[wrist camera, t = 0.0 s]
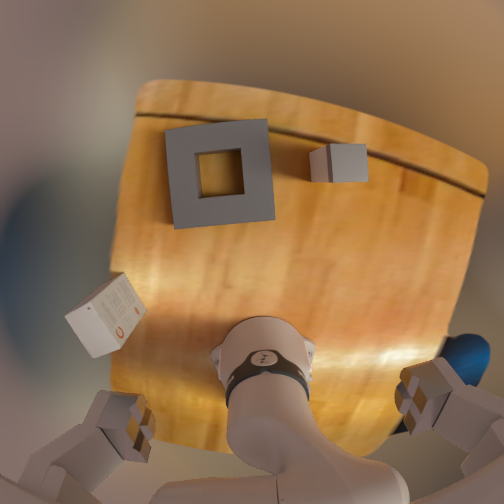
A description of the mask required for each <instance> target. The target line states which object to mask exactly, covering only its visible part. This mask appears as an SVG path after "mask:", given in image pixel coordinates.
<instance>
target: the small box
mask: <svg viewBox="0 0 504 504" xmlns="http://www.w3.org/2000/svg"><path fill="white" fill-rule="evenodd" d="M146 311H147V310H146V308H145V307H144V305H143V303H142V302H141V300H140V299H139V297H138V295H137V294H136V292H135V290H134V289H133V287H132V285H131V284H130V282H129V280H128V278H127V277H126V275H125V273H122V274H120V275H118V276H117V277H115V278H113V279H111V280H109V281H108V282H106V283H104V284H102V285H100V286H99V287H98V288H96V289H95V290H94V291H93V292H92V293H90V294H89V295H88V296H87V297H86V298H84V299H83V300H82V301H81V302H79V303H78V304H77V305H76V306H75V307H74V308H72V309H71V310H70V311H69V312H68V313H67V314H66V315H65V316H64V317H65V318H66V320H67V322H68V323H69V325H70V326H71V328H72V329H73V331H74V332H75V334H76V335H77V337H78V338H79V340H80V341H81V343H82V344H83V346H84V347H85V349H86V350H87V351H88V353H89V354H90V356H91V357H92V358H93V359H95V358H97V357H100V356H103V355H106V354H108V353H111V352H114V351H116V350H119V349H121V347H122V346H123V344H124V343H125V341H126V340H127V338H128V337H129V336H130V334H131V333H132V331H133V330H134V328H135V327H136V326H137V324H138V323H139V321H140V320H141V318H142V317H143V316H144V314H145V313H146Z"/></svg>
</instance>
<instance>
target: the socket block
mask: <svg viewBox="0 0 504 504" xmlns="http://www.w3.org/2000/svg"><path fill="white" fill-rule="evenodd" d="M165 141H166V154H167V166H168V177H169V187H170V197H171V206H172V214H173V222H174V229H184V228H194V227H204V226H214V225H224V224H235V223H246V222H258V221H270V220H275V206H274V193H273V181H272V169H271V157H270V146H269V135H268V124H267V119H253V120H240V121H230V122H220V123H212V124H204V125H196V126H189V127H182V128H176V129H170V130H165ZM233 151H241V156H242V168H243V179H244V190H245V193H241V194H230V195H220V196H210V197H202V189H201V179H200V168H199V156H198V155H206V154H214V153H223V152H233Z"/></svg>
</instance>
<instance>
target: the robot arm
mask: <svg viewBox="0 0 504 504" xmlns="http://www.w3.org/2000/svg"><path fill="white" fill-rule="evenodd" d="M308 352H309V353H308ZM314 352H315V344H314V342H313V341H311V340H309V339H307V338H305V337H303V336H301V335H300V334H299V333H298V331H297V330H296V329H295V328H294V327H293V326H292V325H290V324H289V323H287V322H285V321H283V320H281V319H278V318H274V317H255V318H251V319H248V320H245V321H243V322H241V323H239V324H238V325H236V326H235V327H234V328H233V329H232V330H231V331H230V332H229V333H228V335H227V337H226V338H225V340H224V341H223V343H222V344H220V345H219V346H217V347H216V348H214V349H213V350H212V352H211V359H212V361H213V363H214V366H215V368H216V370H217V373H218V378H219V380H221V382H222V384H223V386H224V388H225V398H226V405H227V408H228V418H227V433H226V437H227V442H228V444H229V447H230V448H231V450H232V451H233V452H234V454H235V455H237V456H238V457H239V458H240V459H241V460H242V461H243V462H245V463H247V464H248V465H250V466H252V467H255V468H258V469H261V470H264V471H267V472H269V473H271V474H273V475H269V476H254V477H220V478H219V477H209V478H201V479H192V480H184V481H176V482H168V483H166V484H164V485H163V486H162V487H161V488H160V489H158V490H157V492H156V493H155V494H154V495H153V497H152V499H151V500H150V503H149V504H277V500H278V504H504V399H503V398H500V397H498V396H495V395H493V394H490V393H488V392H486V391H483V390H481V389H478V388H476V387H474V386H471V385H467V386H466V385H465V384H464V383H463V381H462V380H461V379H460V377H459V376H458V375H457V374H456V372H455V371H454V370H453V369H452V367H451V366H450V365H449V364H448V362H447V361H446V360H445V359H444V358H442V357H439V358H436V359H433V360H430V361H426V362H423V363H420V364H416V365H413V366H409V367H406V368H403V370H402V371H401V373H400V379H401V382H400V383H399V384H398V385H397V386H396V390H395V404H396V407H397V409H398V411H399V412H400V413H402V414H404V415H405V419H404V423H405V425H406V427H407V429H408V431H409V433H410V435H414V434H417V433H420V432H423V431H426V430H429V429H432V430H433V431H435V432H436V433H438V434H439V435H441V436H442V437H444V438H445V439H447V440H448V441H450V442H452V443H453V444H455V445H456V446H457V447H459V448H461V449H462V450H464V451H465V452H467V453H468V454H469V455H468V457H467V458H466V459H465V460H464V461H463V463H462V465H461V467H460V468H461V470H462V472H463V474H464V475H465V478H463V479H462V480H460V481H458V482H456V483H454V484H452V485H450V486H448V487H446V488H444V489H442V490H440V491H438V492H435V493H433V494H431V495H429V496H426V497H424V498H422V499H419V500H417V501H414V502H412V503H409V491H408V488H407V485H406V483H405V481H404V479H403V478H402V476H401V475H400V474H399V473H398V472H397V471H396V470H395V469H394V468H392V467H391V466H389V465H387V464H386V463H383V462H378V461H372V460H368V459H364V458H361V457H358V456H356V455H353V454H351V453H349V452H347V451H345V450H344V449H342V448H340V447H339V446H337V445H336V444H334V443H333V442H332V441H331V440H329V439H328V438H327V437H326V436H325V435H324V434H323V433H322V432H321V430H320V429H319V427H318V426H317V424H316V421H315V419H314V416H313V414H312V411H311V408H310V405H309V395H310V385H308V383H307V382H311V381H312V375H311V374H310V372H312V366H311V364H312V360H313V356H314ZM218 360H219V361H218ZM146 405H147V400H146V398H145V396H144V395H142V394H134V393H124V392H115V391H106V390H101V391H99V392H98V393H97V395H96V397H95V399H94V401H93V403H92V405H91V407H90V409H89V411H88V413H87V416H86V418H85V420H84V422H83V424H78V425H77V426H75V427H73V428H72V429H70V430H69V431H67V432H66V433H64V434H63V435H61V436H60V437H58V438H57V439H55V440H54V441H52V442H51V443H49V444H47V445H46V446H44V447H43V448H41V449H40V450H38V451H36V452H35V453H34V454H32V455H31V456H30V458H29V460H28V462H27V464H26V466H25V468H24V470H23V472H22V474H21V476H20V479H19V481H18V483H16V482H14V481H12V480H10V479H8V478H6V477H5V476H3V475H1V474H0V504H102V503H101V502H100V501H99V500H98V499H97V498H96V497H94V496H93V495H92V494H91V493H92V492H93V491H94V490H95V489H96V488H97V487H98V486H99V485H100V484H101V483H102V482H103V481H104V480H105V479H106V478H108V477H109V475H110V474H112V473H113V472H114V471H115V470H116V469H117V468H118V467H119V466H120V465H121V464H122V463H123V460H128V461H135V462H144V463H147V462H148V457H149V453H150V450H151V446H150V445H149V443H148V441H149V440H150V439H152V438H153V437H154V433H155V418H154V415H153V413H152V411H151V410H150V409H149V408H147V407H146ZM275 476H276V483H275ZM276 487H277V493H276Z"/></svg>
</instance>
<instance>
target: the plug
mask: <svg viewBox="0 0 504 504" xmlns="http://www.w3.org/2000/svg"><path fill="white" fill-rule="evenodd" d="M309 159H310V171H311V182H330V183H336V182H369V177H368V162H367V150H366V144H329V145H326V146H324V147H322V148H319V149H317V150H315V151H312V152H310V153H309Z"/></svg>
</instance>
